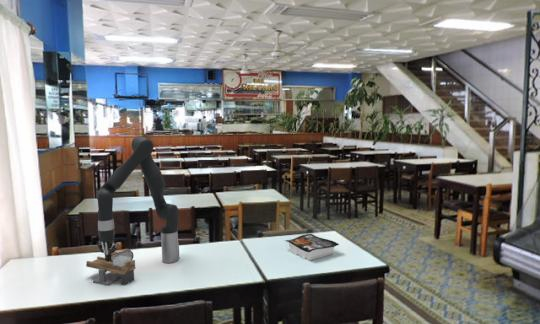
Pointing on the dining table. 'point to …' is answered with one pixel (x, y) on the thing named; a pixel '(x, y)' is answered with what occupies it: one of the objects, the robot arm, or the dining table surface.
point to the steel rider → (121, 261)
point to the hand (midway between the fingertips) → (108, 261)
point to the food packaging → (311, 246)
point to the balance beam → (110, 265)
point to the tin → (123, 253)
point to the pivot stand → (114, 277)
